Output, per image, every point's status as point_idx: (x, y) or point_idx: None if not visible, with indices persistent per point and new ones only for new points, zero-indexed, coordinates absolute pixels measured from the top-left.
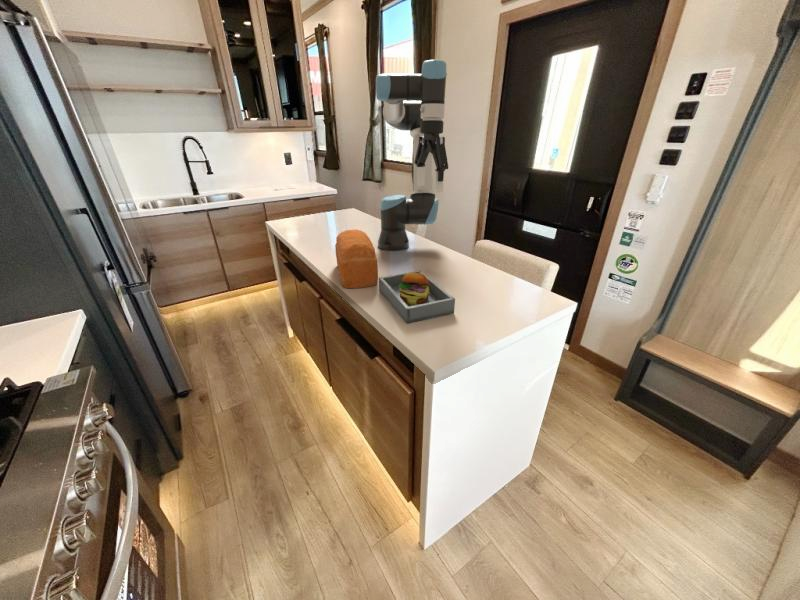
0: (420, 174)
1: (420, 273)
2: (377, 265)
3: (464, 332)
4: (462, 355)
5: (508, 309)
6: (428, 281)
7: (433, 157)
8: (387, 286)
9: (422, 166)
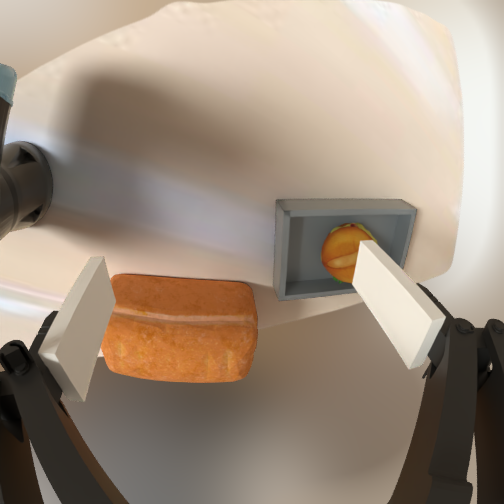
0: (89, 340)
1: (297, 216)
2: (250, 305)
3: (436, 213)
4: (455, 239)
5: (430, 112)
6: (364, 233)
7: (408, 461)
8: (322, 295)
9: (45, 368)
